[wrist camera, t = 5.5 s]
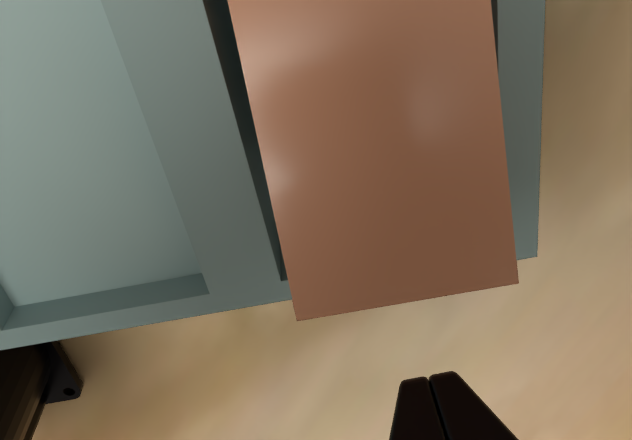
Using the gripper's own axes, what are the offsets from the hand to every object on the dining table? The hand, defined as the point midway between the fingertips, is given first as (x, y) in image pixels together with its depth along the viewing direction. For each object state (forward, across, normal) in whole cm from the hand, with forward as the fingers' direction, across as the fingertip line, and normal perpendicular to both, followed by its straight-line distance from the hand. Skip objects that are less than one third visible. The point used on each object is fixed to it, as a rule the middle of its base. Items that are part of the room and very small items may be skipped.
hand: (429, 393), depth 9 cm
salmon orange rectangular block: (+7, 0, -3) cm, 8 cm away
